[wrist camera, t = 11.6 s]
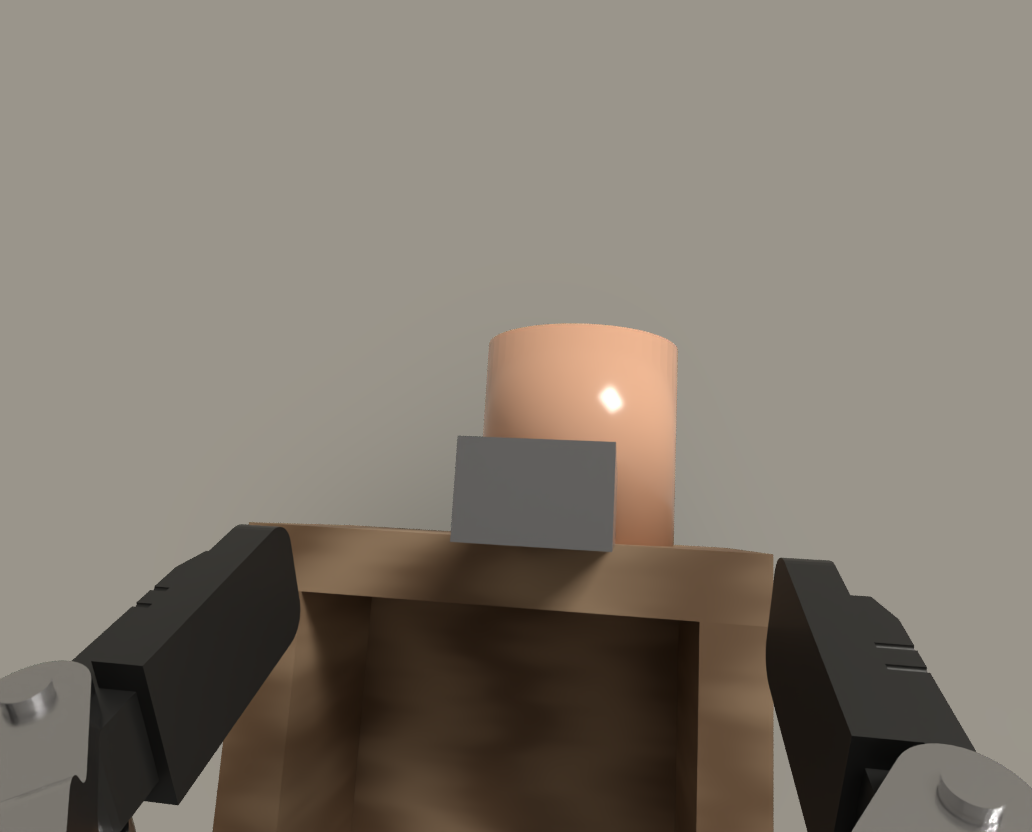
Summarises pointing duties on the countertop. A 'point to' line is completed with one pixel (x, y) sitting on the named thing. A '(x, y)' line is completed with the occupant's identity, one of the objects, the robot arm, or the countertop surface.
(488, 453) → the peach cylinder
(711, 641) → the stand
